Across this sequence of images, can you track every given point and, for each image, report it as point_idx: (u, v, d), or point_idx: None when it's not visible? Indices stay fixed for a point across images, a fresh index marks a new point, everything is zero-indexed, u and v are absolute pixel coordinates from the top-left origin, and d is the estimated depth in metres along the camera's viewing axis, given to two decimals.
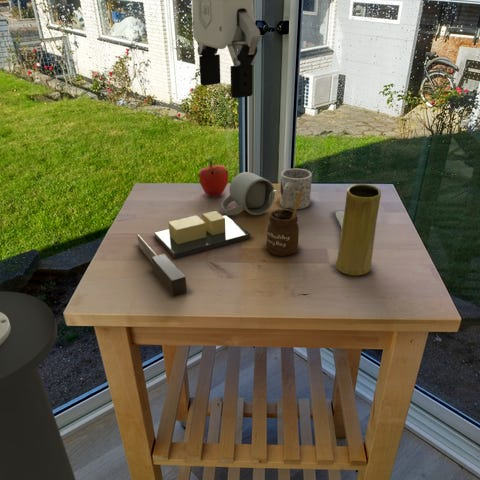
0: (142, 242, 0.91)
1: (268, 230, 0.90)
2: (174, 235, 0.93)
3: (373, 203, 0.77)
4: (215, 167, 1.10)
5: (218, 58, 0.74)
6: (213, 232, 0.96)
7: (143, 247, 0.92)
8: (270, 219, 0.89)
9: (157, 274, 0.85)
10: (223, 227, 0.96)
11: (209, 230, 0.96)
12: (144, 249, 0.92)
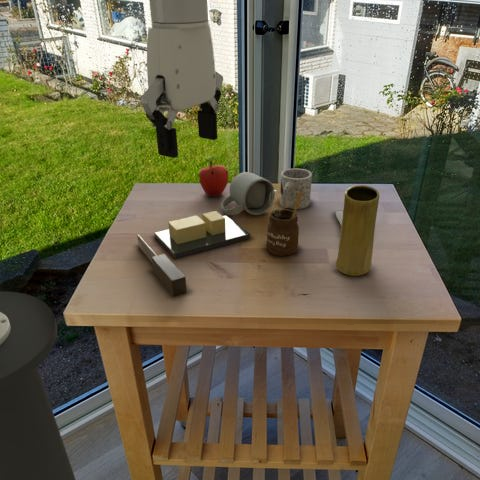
0: (142, 242, 0.91)
1: (268, 230, 0.90)
2: (174, 235, 0.93)
3: (371, 206, 0.76)
4: (215, 167, 1.10)
5: (212, 116, 0.74)
6: (213, 232, 0.96)
7: (143, 247, 0.92)
8: (270, 219, 0.89)
9: (157, 274, 0.85)
10: (223, 227, 0.96)
11: (209, 230, 0.96)
12: (144, 249, 0.92)
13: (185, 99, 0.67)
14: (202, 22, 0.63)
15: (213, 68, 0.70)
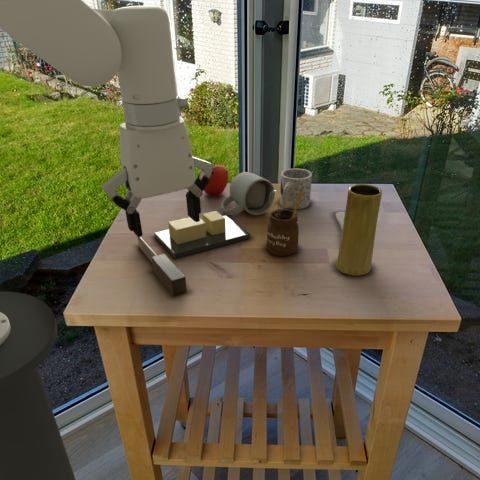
0: (142, 242, 0.91)
1: (268, 230, 0.90)
2: (174, 235, 0.93)
3: (374, 201, 0.78)
4: (215, 167, 1.10)
5: (193, 201, 0.77)
6: (213, 232, 0.96)
7: (143, 247, 0.92)
8: (270, 219, 0.89)
9: (157, 274, 0.85)
10: (223, 227, 0.96)
11: (209, 230, 0.96)
12: (144, 249, 0.92)
13: (147, 189, 0.71)
14: (161, 125, 0.66)
15: (189, 161, 0.72)
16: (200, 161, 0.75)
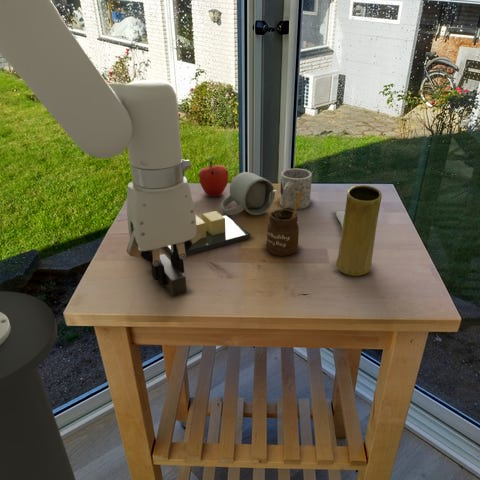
0: None
1: (268, 230, 0.90)
2: None
3: (373, 206, 0.76)
4: (215, 167, 1.10)
5: (176, 263, 0.81)
6: (213, 232, 0.96)
7: None
8: (270, 219, 0.89)
9: None
10: (223, 227, 0.96)
11: (209, 230, 0.96)
12: None
13: (152, 242, 0.76)
14: (166, 188, 0.71)
15: (191, 216, 0.77)
16: None
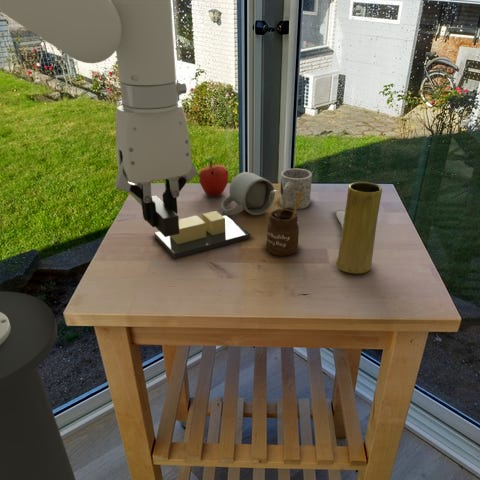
0: None
1: (268, 230, 0.90)
2: (174, 235, 0.93)
3: (374, 198, 0.78)
4: (215, 167, 1.10)
5: (169, 201, 0.75)
6: (213, 232, 0.96)
7: None
8: (270, 219, 0.89)
9: None
10: (223, 227, 0.96)
11: (209, 230, 0.96)
12: None
13: (143, 174, 0.70)
14: (159, 108, 0.65)
15: (186, 147, 0.71)
16: None
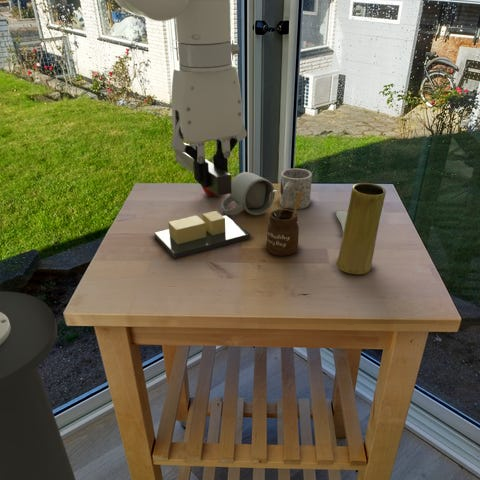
0: (180, 153, 0.88)
1: (268, 230, 0.90)
2: (174, 235, 0.93)
3: (377, 201, 0.78)
4: None
5: (220, 162, 0.78)
6: (213, 232, 0.96)
7: (181, 159, 0.88)
8: (270, 219, 0.89)
9: None
10: (223, 227, 0.96)
11: (209, 230, 0.96)
12: (182, 160, 0.88)
13: (198, 133, 0.73)
14: (216, 67, 0.67)
15: (238, 107, 0.74)
16: None
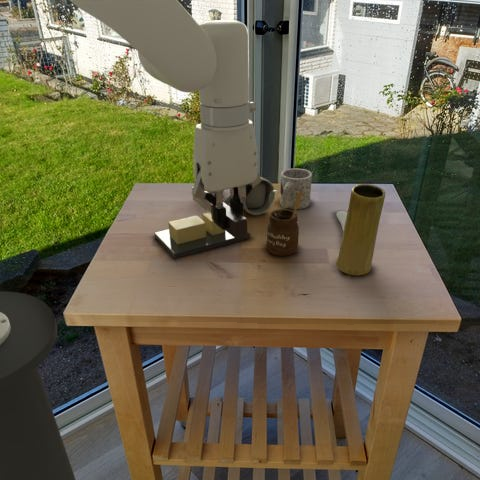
0: None
1: (268, 230, 0.90)
2: (174, 235, 0.93)
3: (377, 203, 0.77)
4: None
5: (237, 206, 0.84)
6: (213, 232, 0.96)
7: (198, 198, 0.95)
8: (270, 219, 0.89)
9: None
10: None
11: (209, 230, 0.96)
12: (199, 200, 0.95)
13: (217, 183, 0.79)
14: (235, 126, 0.74)
15: (254, 158, 0.80)
16: None
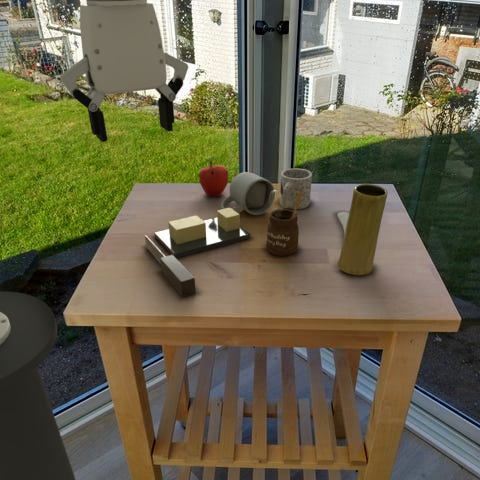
0: (150, 243, 0.91)
1: (268, 230, 0.90)
2: (174, 235, 0.93)
3: (379, 202, 0.78)
4: (215, 167, 1.10)
5: (165, 105, 0.69)
6: (228, 228, 0.97)
7: (151, 248, 0.91)
8: (270, 219, 0.89)
9: (165, 275, 0.85)
10: (238, 223, 0.97)
11: (224, 226, 0.97)
12: (152, 250, 0.91)
13: (112, 82, 0.63)
14: (125, 0, 0.58)
15: (159, 53, 0.64)
16: (173, 58, 0.67)
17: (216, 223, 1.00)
